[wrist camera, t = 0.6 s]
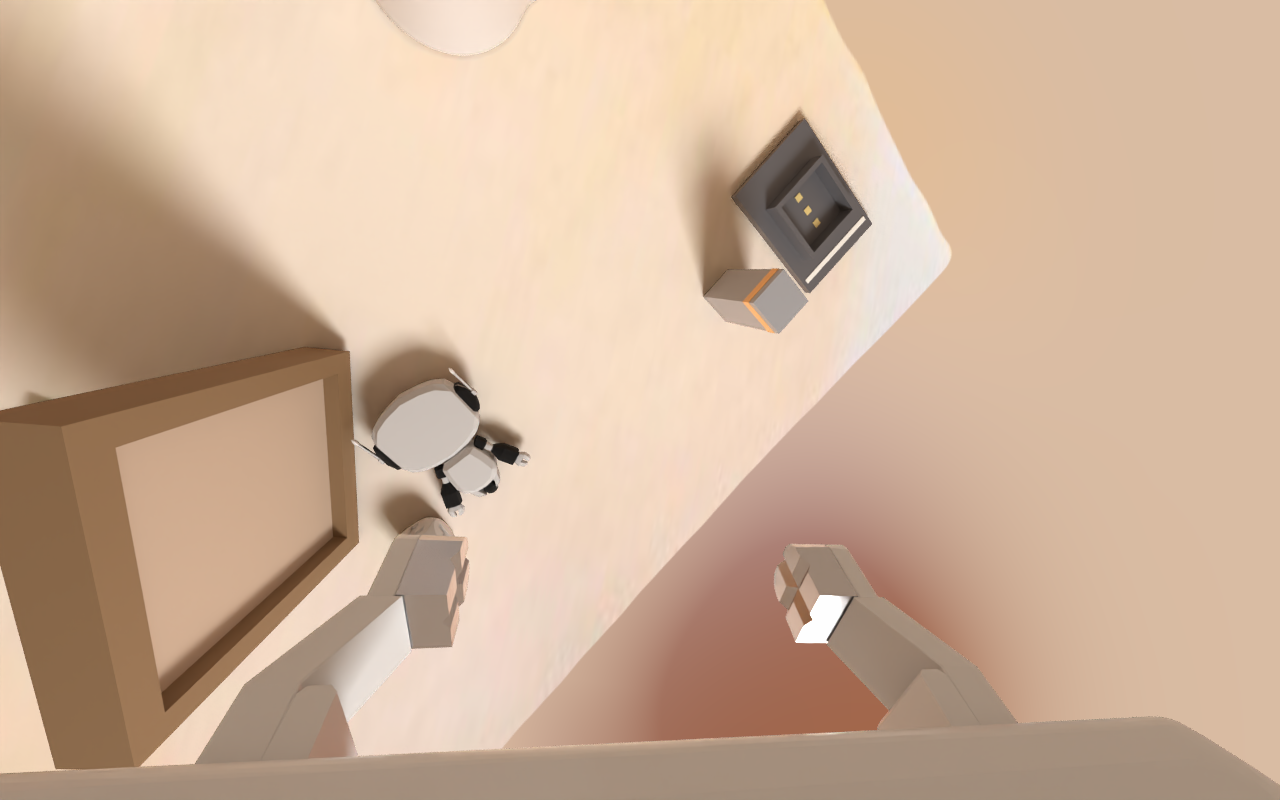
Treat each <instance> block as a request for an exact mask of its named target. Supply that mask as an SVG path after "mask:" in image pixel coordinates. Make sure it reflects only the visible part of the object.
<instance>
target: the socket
mask: <svg viewBox="0 0 1280 800" xmlns="http://www.w3.org/2000/svg"><path fill="white" fill-rule="evenodd" d="M732 199H733V200H734V201H735V202H736V204H737V205H738V206H739V208H740V209H741V210H742V211H743V213H744V214H745V215H746V217H747V218H748V219H749V220H750V222H751V223H752V224H753V226H754V227H755V228H756V229H757V231H758V232H759V233H760V235H761V236H762V237H763V239H764V240H765V241H766V242H767V244H768V245H769V246H770V248H771V249H772V250H773V251H774V253H775V254H776V255H777V257H778V258H779V259H780V260H781V262H782V263H783V264H784V266H785V267H786V268H787V269H788V271H789V272H790V273H791V275H792V276H793V277H794V279H795V280H796V281H797V282H798V284H799V285H800V286H801V288H802V289H803V290H804V291H805V292H806V293H810V292H811V291H812V290H813V289H814V288H815V287H816V286H817V285H818V283H819V282H820V281H821V280H822V279H823V278H824V277H825V276H826V275H827V273H828V272H829V271H830V270H831V269H832V268H833V267H834V266H835V265H836V263H837V262H838V261H839V260H840V259H841V258H842V257H843V256H844V255H845V253H846V252H847V251H848V250H849V249H850V248H851V247H852V246H853V245H854V243H855V242H856V241H857V240H858V239H859V238H860V237H861V236H862V235H863V234H864V232H865V231H866V230H867V229H868V228H869V227H870V226H871V225H872V223H871V221H870V220H869V218H868V216H867V215H866V213H865V212H864V210H863V209H862V207H861V205H860V204H859V202H858V201H857V199H856V198H855V196H854V195H853V193H852V191H851V190H850V188H849V187H848V185H847V184H846V182H845V181H844V179H843V177H842V176H841V174H840V173H839V171H838V170H837V168H836V166H835V165H834V163H833V162H832V160H831V159H830V157H829V156H828V154H827V152H826V151H825V149H824V148H823V146H822V145H821V143H820V141H819V140H818V138H817V137H816V135H815V134H814V132H813V131H812V129H811V127H810V126H809V124H808V123H807V121H806V120H805V119H803V120H801V121H799V122H798V123H797V124H796V125H795V127H794V128H793V129H792V130H791V131H790V132H789V133H788V134H787V136H786V137H785V138H784V139H783V140H782V141H781V142H780V143H779V144H778V146H777V147H776V148H775V149H774V150H773V151H772V152H771V153H770V154H769V156H768V157H767V158H766V159H765V160H764V161H763V162H762V163H761V165H760V166H759V167H758V168H757V169H756V170H755V171H754V172H753V173H752V175H751V176H750V177H749V178H748V179H747V180H746V181H745V182H744V184H743V185H742V186H741V187H740V188H739V189H738V190H737V191H736V192H735V194H734V195H733V196H732Z"/></svg>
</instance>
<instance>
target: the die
mask: <svg viewBox="0 0 1280 800" xmlns="http://www.w3.org/2000/svg"><path fill="white" fill-rule="evenodd" d="M401 534H405V535H433V536H454V534H453V532H452V530H451V529H450V527H449V526H448V525H447V524H446V523H445V522H444V521H443V520H441V519H438V518H433V517H428V518H424V519H421V520H419V521H417V522H416V523H414V524H412V525H411V526H410V527H408V528H407V529H406V530H405V531H403V532H402V533H401ZM454 537H455V536H454Z"/></svg>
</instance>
